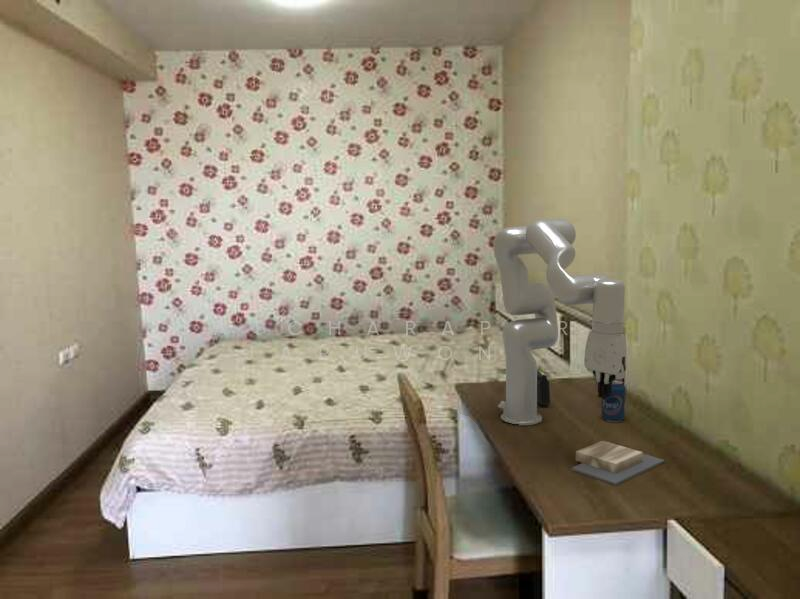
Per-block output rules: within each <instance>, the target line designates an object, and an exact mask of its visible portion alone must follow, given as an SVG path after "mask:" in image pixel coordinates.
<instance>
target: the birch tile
mask: <svg viewBox="0 0 800 599" xmlns="http://www.w3.org/2000/svg"><path fill="white" fill-rule="evenodd" d="M643 454H644V453H643V451H640V450H636V449H632V448H630V447H627V446H626V447H625V446H623V445H619V444H616V443H614V442H613V443H612V442H611V441H610V442H609V441H605V440H601V441H598V442H596V443H593V444H590V445H588V446H586V447H583V448H581V449H578V450H576V451H575V461H577V462H579V463H581V464H582V463H585V464H588V465H591V466H594V467H597V468H600V469H603V470H606V471H609V472H612V473H615V474H616V473H618V472H620V471H622V470H625V469H627V468H629V467H631V466H633V465H636V464H638V463H640V462H642V460H643Z"/></svg>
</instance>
